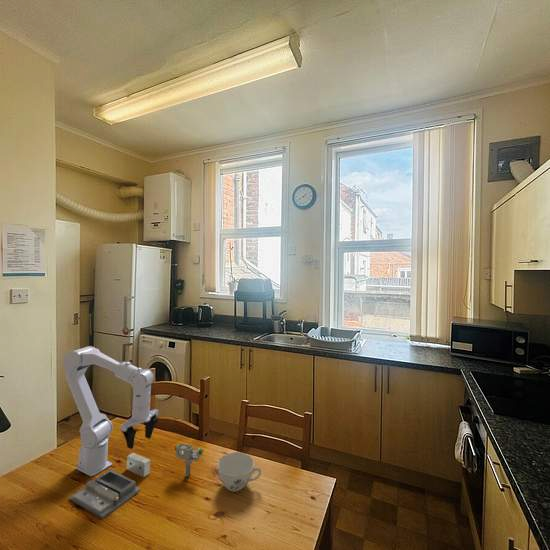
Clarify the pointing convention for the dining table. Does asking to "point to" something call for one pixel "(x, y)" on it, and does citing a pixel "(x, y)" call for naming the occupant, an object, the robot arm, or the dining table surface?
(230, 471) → the teacup
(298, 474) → the dining table surface
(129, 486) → the fixed leaf
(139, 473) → the brushed steel bar
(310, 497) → the dining table surface
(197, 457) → the mechanical component
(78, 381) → the robot arm
